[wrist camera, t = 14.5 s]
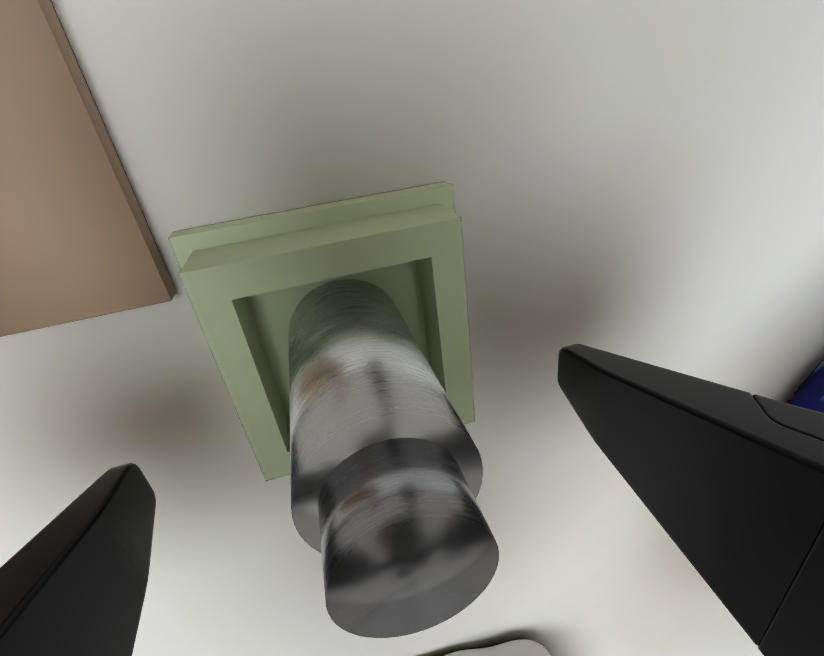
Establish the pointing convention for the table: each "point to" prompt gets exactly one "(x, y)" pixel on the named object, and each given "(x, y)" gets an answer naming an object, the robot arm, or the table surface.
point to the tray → (316, 265)
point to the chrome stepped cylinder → (381, 468)
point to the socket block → (63, 189)
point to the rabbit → (507, 649)
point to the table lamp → (811, 391)
